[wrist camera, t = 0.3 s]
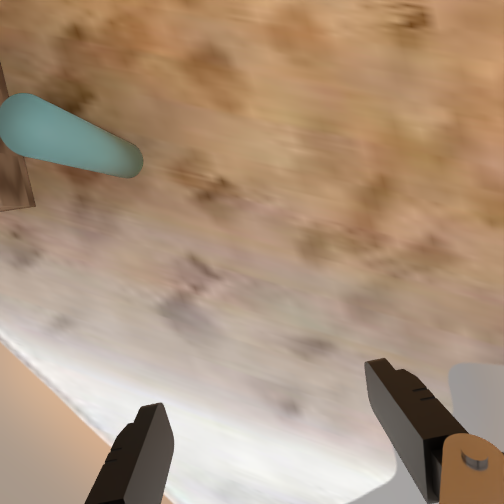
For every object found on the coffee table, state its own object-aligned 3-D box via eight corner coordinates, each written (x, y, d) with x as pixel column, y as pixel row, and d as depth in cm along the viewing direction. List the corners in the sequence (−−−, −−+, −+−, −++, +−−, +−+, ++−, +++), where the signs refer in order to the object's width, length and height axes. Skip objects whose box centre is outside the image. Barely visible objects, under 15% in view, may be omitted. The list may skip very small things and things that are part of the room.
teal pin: (105, 145, 37) (-11, 98, 21) (139, 139, 37) (48, 88, 21) (112, 180, 37) (5, 160, 22) (146, 175, 37) (62, 152, 21)
